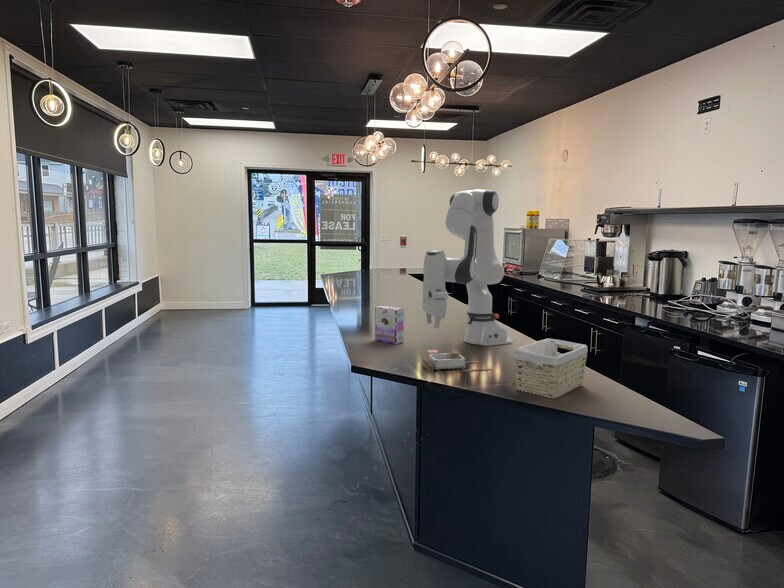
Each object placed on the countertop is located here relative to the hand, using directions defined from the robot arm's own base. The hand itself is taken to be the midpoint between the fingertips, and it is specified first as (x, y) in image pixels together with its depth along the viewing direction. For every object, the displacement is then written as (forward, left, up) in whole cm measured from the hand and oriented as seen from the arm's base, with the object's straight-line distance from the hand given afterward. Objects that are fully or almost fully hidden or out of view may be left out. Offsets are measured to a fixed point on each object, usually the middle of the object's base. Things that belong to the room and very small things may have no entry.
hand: (432, 325), depth 206 cm
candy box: (+9, -40, -16) cm, 44 cm away
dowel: (-5, +12, -12) cm, 18 cm away
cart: (-2, +12, -14) cm, 19 cm away
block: (0, 0, -15) cm, 15 cm away
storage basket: (-31, +37, -16) cm, 51 cm away
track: (-6, +12, -15) cm, 20 cm away
